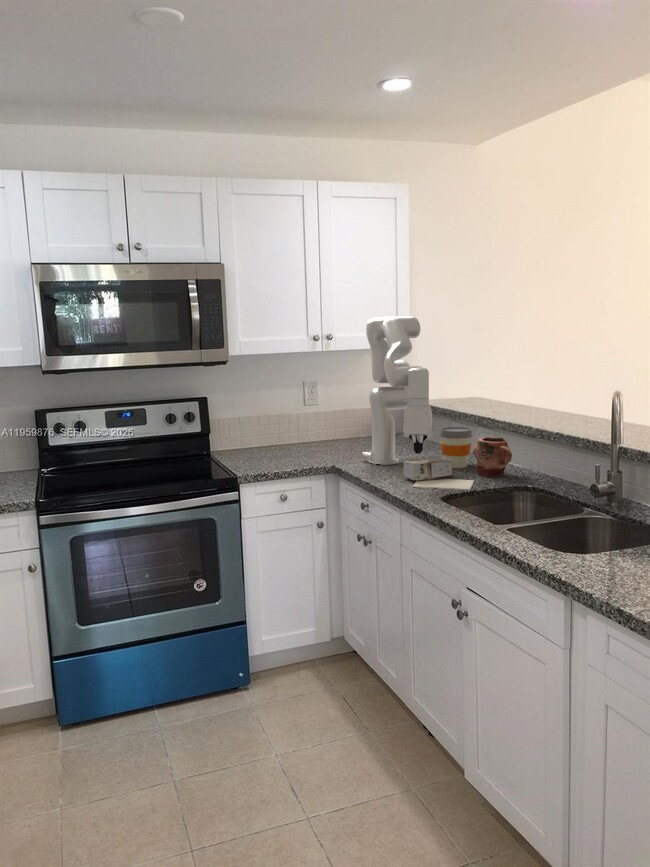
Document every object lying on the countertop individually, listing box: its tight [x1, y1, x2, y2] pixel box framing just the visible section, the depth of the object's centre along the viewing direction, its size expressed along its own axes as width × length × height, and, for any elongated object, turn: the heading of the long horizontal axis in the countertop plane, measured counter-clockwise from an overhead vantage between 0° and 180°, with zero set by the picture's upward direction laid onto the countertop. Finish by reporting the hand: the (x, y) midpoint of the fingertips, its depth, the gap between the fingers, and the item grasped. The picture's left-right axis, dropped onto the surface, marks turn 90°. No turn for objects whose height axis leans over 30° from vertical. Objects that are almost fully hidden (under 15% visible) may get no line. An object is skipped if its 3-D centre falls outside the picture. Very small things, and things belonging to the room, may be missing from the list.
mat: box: [412, 478, 475, 491], centre depth 255 cm, size 20×14×1 cm
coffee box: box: [403, 459, 454, 481], centre depth 264 cm, size 9×6×16 cm
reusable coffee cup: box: [439, 426, 473, 469], centre depth 286 cm, size 13×13×15 cm
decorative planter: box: [472, 437, 513, 478], centre depth 268 cm, size 20×12×14 cm, turn 30°
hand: (418, 453), depth 257 cm, fingers closed
